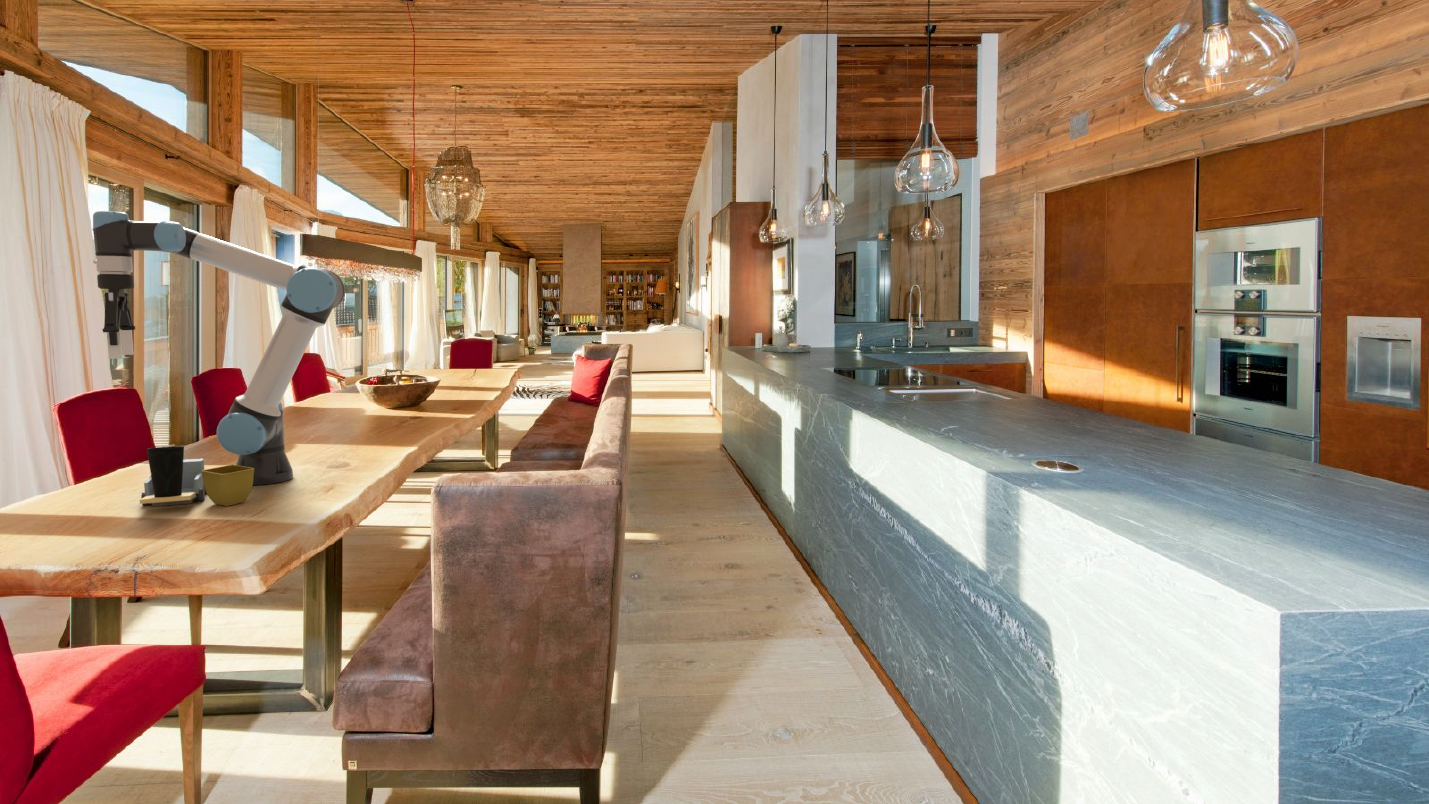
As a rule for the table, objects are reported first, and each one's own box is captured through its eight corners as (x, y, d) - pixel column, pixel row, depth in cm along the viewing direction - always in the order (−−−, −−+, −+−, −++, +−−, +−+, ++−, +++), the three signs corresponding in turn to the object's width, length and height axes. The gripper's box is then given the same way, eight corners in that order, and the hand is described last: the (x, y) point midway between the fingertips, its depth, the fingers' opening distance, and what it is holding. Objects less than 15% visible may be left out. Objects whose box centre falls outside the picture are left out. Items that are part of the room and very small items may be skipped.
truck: (209, 490, 225) (207, 458, 223) (202, 502, 212) (200, 467, 211) (151, 495, 219) (149, 461, 218) (141, 507, 207) (138, 472, 206)
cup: (168, 498, 200) (165, 448, 200) (141, 498, 202) (138, 449, 201) (194, 493, 208) (191, 445, 207) (168, 493, 209) (165, 446, 209)
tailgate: (195, 491, 211) (190, 495, 203) (196, 495, 211) (190, 499, 203) (147, 495, 207) (139, 499, 199) (147, 499, 207) (139, 503, 199)
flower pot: (257, 501, 214) (255, 467, 212) (225, 509, 206) (222, 474, 205) (234, 497, 217) (232, 464, 216) (202, 505, 209) (199, 470, 208)
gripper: (108, 274, 221) (115, 353, 223) (84, 272, 198) (91, 360, 201) (142, 274, 224) (148, 353, 227) (122, 272, 201) (129, 359, 204)
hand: (121, 356), depth 214 cm, fingers open, 13 cm apart
